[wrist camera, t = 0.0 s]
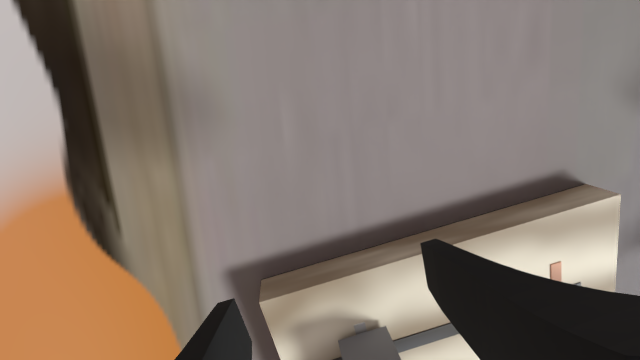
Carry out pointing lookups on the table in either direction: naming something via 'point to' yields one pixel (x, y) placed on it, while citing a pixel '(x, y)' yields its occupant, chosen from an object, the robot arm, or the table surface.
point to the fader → (369, 346)
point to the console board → (411, 285)
